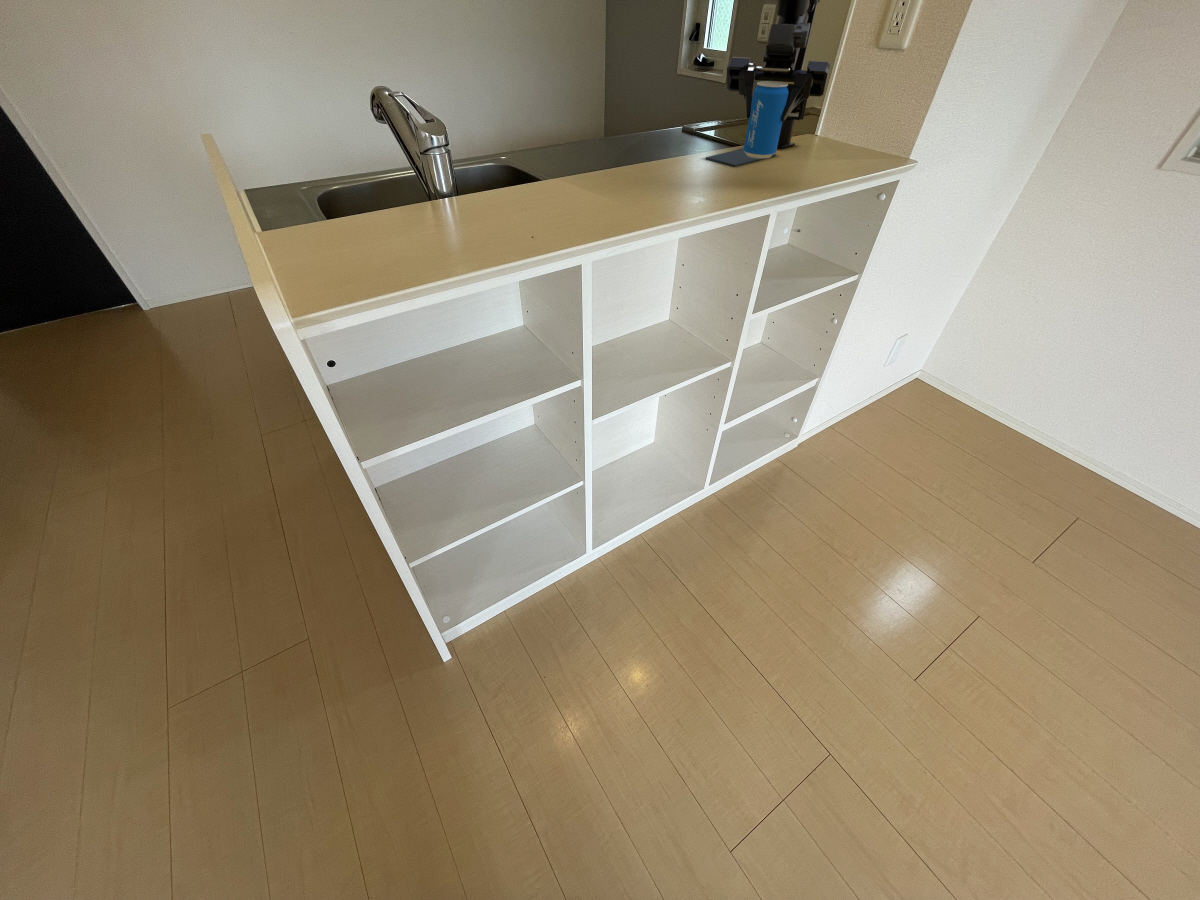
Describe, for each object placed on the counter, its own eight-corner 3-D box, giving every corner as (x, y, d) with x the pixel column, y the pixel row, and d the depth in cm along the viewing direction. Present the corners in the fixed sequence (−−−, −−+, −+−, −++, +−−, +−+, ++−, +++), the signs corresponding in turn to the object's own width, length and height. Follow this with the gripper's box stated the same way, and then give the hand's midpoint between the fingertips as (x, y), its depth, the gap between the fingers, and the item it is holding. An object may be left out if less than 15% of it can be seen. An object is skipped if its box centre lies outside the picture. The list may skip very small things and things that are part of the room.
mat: (746, 149, 130) (747, 147, 130) (775, 156, 125) (776, 154, 125) (705, 159, 123) (705, 157, 123) (734, 166, 118) (735, 164, 118)
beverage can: (736, 154, 104) (747, 82, 95) (756, 149, 106) (770, 79, 98) (760, 161, 100) (775, 87, 92) (781, 156, 103) (797, 83, 94)
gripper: (738, 1, 92) (715, 83, 92) (846, 3, 87) (821, 90, 87) (738, 51, 103) (717, 125, 103) (834, 55, 98) (812, 133, 98)
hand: (764, 118), depth 98 cm, fingers closed on beverage can, 6 cm apart
